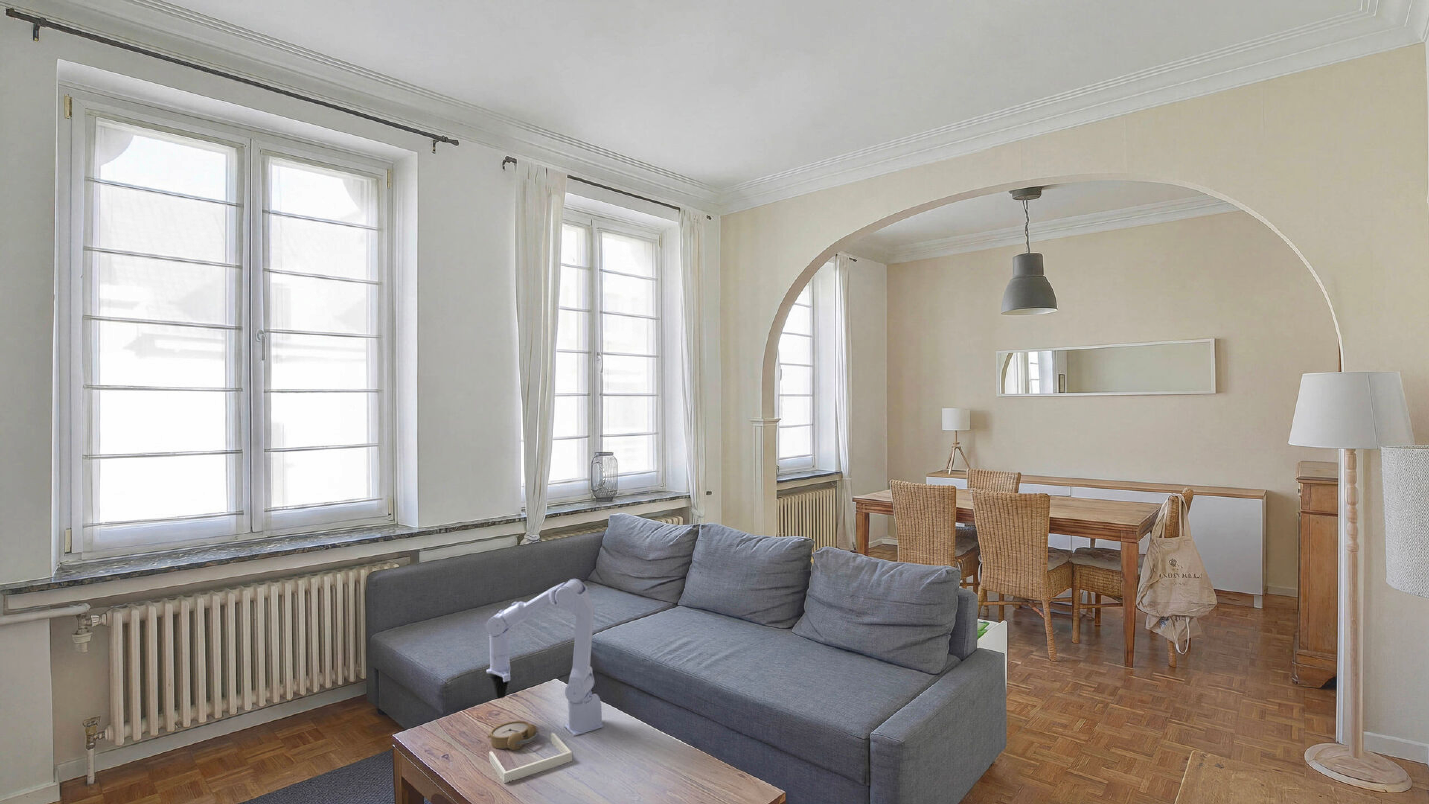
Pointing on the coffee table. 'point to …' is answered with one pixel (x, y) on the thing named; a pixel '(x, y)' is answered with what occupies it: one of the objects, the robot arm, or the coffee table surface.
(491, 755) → the clock dock
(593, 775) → the coffee table surface
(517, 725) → the alarm clock
